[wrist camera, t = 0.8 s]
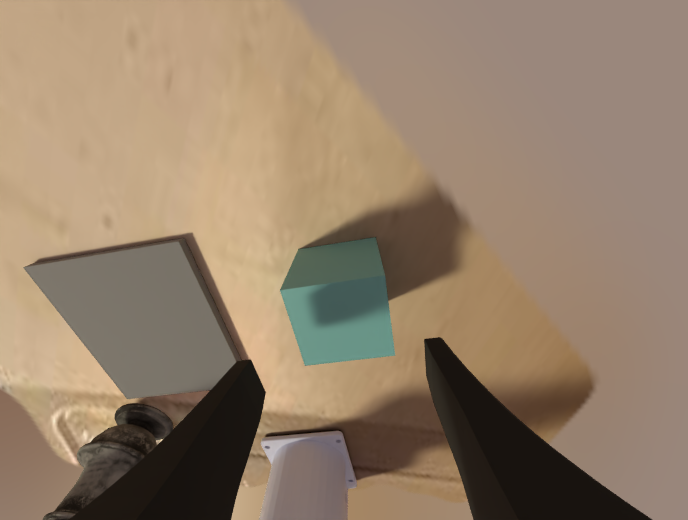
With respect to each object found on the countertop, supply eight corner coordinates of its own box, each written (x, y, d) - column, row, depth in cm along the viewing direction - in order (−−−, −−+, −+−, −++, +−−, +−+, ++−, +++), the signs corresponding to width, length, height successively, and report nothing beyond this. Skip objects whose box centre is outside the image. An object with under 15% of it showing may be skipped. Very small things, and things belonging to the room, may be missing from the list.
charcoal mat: (250, 379, 22) (248, 386, 22) (132, 393, 23) (127, 399, 23) (183, 237, 17) (178, 241, 16) (32, 263, 18) (23, 267, 17)
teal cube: (384, 301, 19) (395, 355, 14) (315, 310, 19) (305, 365, 15) (375, 236, 17) (385, 275, 12) (298, 248, 17) (280, 290, 13)
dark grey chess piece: (141, 393, 23) (-39, 618, 13) (189, 429, 26) (71, 647, 15) (98, 414, 25) (-96, 631, 14) (147, 446, 27) (11, 657, 16)
